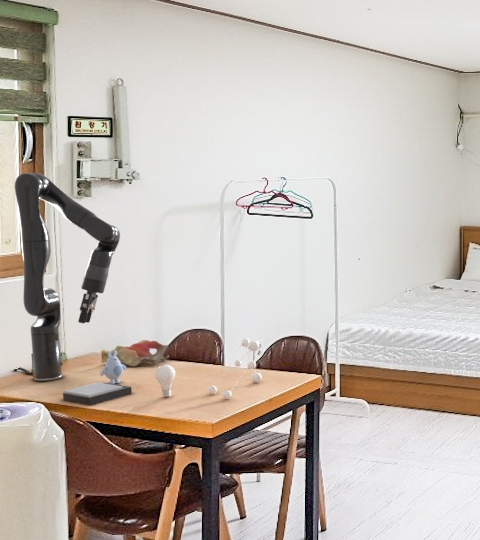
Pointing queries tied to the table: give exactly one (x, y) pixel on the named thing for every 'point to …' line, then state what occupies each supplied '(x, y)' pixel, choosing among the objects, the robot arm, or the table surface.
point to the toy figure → (113, 368)
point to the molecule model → (255, 376)
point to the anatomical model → (138, 353)
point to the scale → (96, 393)
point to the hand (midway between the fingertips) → (83, 322)
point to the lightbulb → (165, 378)
